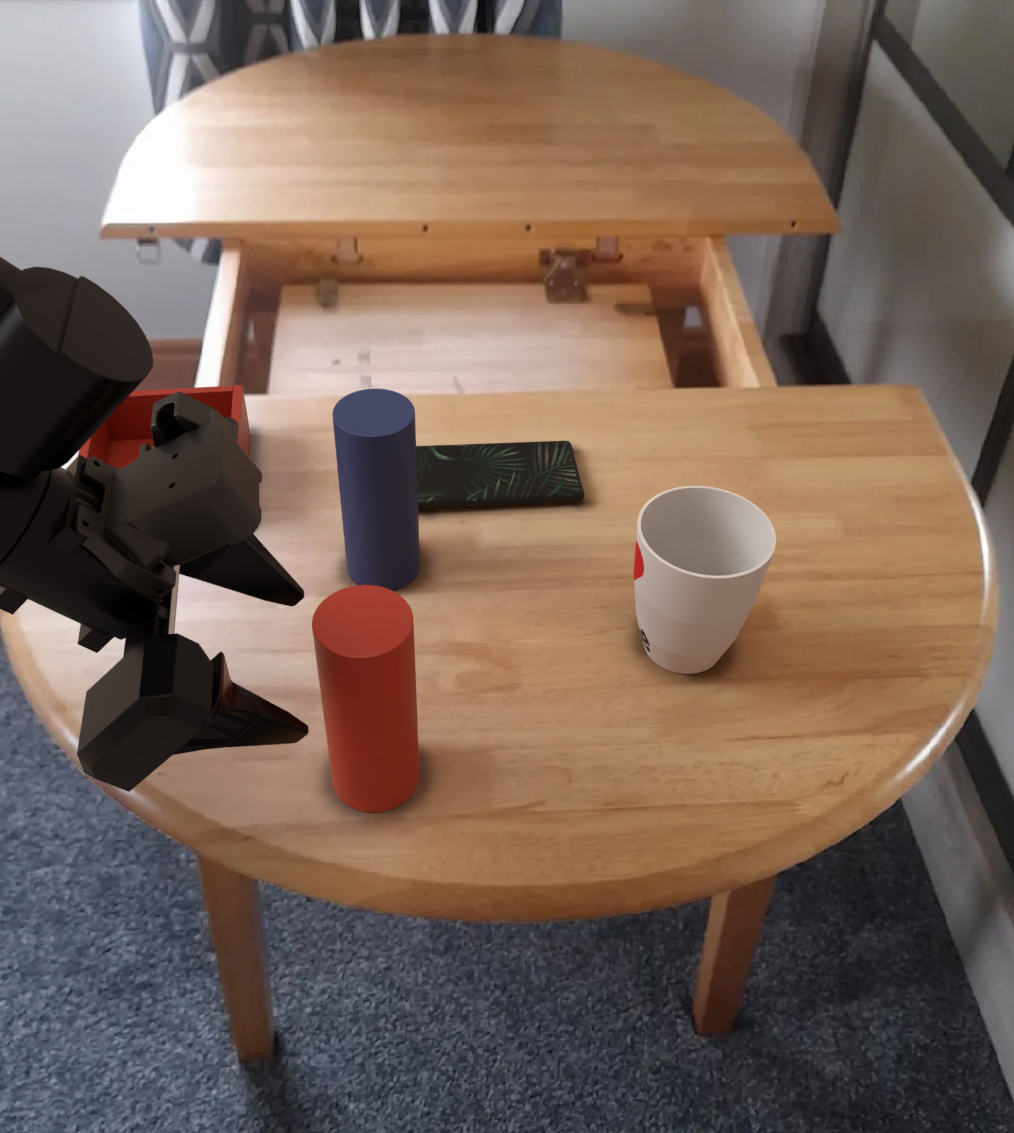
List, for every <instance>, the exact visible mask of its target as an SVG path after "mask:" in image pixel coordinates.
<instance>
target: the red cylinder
mask: <svg viewBox="0 0 1014 1133" xmlns="http://www.w3.org/2000/svg"><path fill="white" fill-rule="evenodd" d="M414 623H415V622H414V613H413V610H412V608H411V605H410V604H409V603H408V601H407V600H406V599H405V598H404V597H403V596H402V595H400V594H399V593H398V592H396V591H395V590H393V591H392V590H390V589H387V588H384V587H380V586H374V585H357V584H356V585H352V586H351V585H350V586H348V587H344V588H341V589H338V590H336V591H334V592H332V593H331V594H329V595H328V596H326V597H325V598H324V599H323V600H322V601H321V602H320V603H319V604H318V606H317V607H316V609H315V611H314V613H313V616H312V619H311V629H312V637H313V638H312V639H313V644H314V652H315V662H316V668H317V675H318V676H317V677H318V682H319V683H318V684H319V691H320V698H321V706H322V714H323V721H324V728H325V729H324V730H325V736H326V743H327V751H328V759H329V767H330V774H331V782H332V787H333V789H334V790H333V791H334V792H335V794H336V795H337V796H338V798H339V799H340V800H341V801H342V802H343V803H344V804H346V805H347V806H348V807H351V808H352V809H355V810H357V811H361V812H366V813H380V812H385V811H390V810H392V809H394V808H395V809H396V808H397V807H399V806H401V805H402V804H403V803H405V802H406V801H407V800H408V799H409V798H410V797H411V796H412V795H413V794H414V793H415V791H416V790H417V787H418V784H419V781H420V775H421V774H420V771H421V770H420V749H419V748H420V747H419V746H420V745H419V725H418V699H417V696H418V695H417V675H416V674H417V670H416V649H415V646H416V645H415V624H414Z"/></svg>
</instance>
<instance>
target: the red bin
mask: <svg viewBox="0 0 1014 1133" xmlns="http://www.w3.org/2000/svg"><path fill="white" fill-rule="evenodd" d="M176 392H182V393H184V394H186V395H188V396H190V397H192V398H194V399H196V400H198V401H200V402H202V403H204V404H206V405H208V406H210V407H211V408H213V409H214V410H217V411H218V412H219V413H220V414H221V416H222V417H223V418H225V417H231V418H233V419H235V420H236V421H237V422H238V424H239V436H238V444H239V445H240V446H241V448H242V449H243V450H244V451H245V453H246V454H247V455H248V456H249V457H250V450H251V430H250V423H249V417H248V410H247V403H246V398H245V391H244V386H243V385H242V384H236V385H217V386H199V387H181V388H180V387H179V388H161V389H159V388H158V389H143V390H134V391H133V392H132V393H131V394H130V395H129V396H128V397H127V398H126V400H125V401H124V402H123V403H122V404H121V405H120V406H119V407H118V408H117V409H116V410H115V412H114V413H113V414H112V415H111V416H110V417H109V418H108V419H107V420H106V421H105V422H104V423H103V425H102V426H101V427H100V428H99V429H98V430H97V431H96V432H95V433H94V434H93V435H92V437H91V438H90V439H89V440H88V441H87V442H86V443H85V444H84V445H83V446H82V447H81V449H80V450H79V451H78V452H77V456H78V455H79V454H80V455H82V456H83V457H85V458H87V459H88V458H89V457H96V458H98V459H100V460H101V461H103V462H105V463H107V464H108V465H111V466H114V467H117V468H120V469H121V468H123V467H125V466H127V465H128V464H130V463H132V462H134V461H135V460H137V459H138V457H139V450H140V446H141V445H143V444H145V443H148V444H149V445H150V446H151V448H152V447H153V446H154V443H153V438H152V432H151V420H152V412H153V405H154V403H155V402H157V401H159V400H161V399H163V398H165V397H167V396H170V395H172V394H174V393H176Z"/></svg>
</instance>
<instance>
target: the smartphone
mask: <svg viewBox="0 0 1014 1133" xmlns="http://www.w3.org/2000/svg"><path fill="white" fill-rule="evenodd" d="M416 457H417V487H418V511H425V510H426V511H429V510H430V509H441V508H443V509H445V508H463V507H464V508H465V507H467V508H468V507H488V506H509V505H510V506H511V505H512V506H513V505H534V504H538V505H539V504H557V503H579V502H582V501H584V499H585V490H584V487H583V483H582V482H583V481H582V479H581V475H580V470H579V467H578V464H577V460H576V455H575V453H574V449H573V445H572V443H571V441H569V440H545V441H544V440H543V441H518V442H517V441H516V442H494V443H493V442H491V443H490V442H488V443H486V442H485V443H464V444H463V443H461V444H436V445H431V444H430V445H416Z"/></svg>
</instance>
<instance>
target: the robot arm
mask: <svg viewBox="0 0 1014 1133" xmlns="http://www.w3.org/2000/svg"><path fill="white" fill-rule="evenodd" d="M153 366H154V357H153V351H152V347H151V345H150V341H149V339H148V337H147V335H146V333H145V332H144V331H143V329H142V327H141V326H140V324H139V323H138V322H137V320H136V319H135V318H134V317H133V315H132V314H131V313H130V312H129V310H127V308H126V307H125V306H124V305H122V303H120V302H119V301H118V300H117V299H116V298H115V297H114V296H113V295H111V293H109V292H108V291H106V290H105V289H104V288H102V287H101V286H100V285H98V284H97V283H95V282H94V281H92V280H91V279H89V278H87V277H86V276H83V275H80V276H79V277H76V276H74V275H71V274H69V273H67V272H65V271H62V270H59V269H55V268H52V267H47V266H46V267H45V266H32V267H27V268H23V269H20V268H19V267H18V266H16V265H14V264H13V263H11V262H9V261H8V260H6V258H3V257H2V256H0V610H1V611H3V612H5V613H8V614H10V615H14V614H15V613H16V612H17V611H18V610H19V609H20V608H21V607H22V606H23V605H24V604H25V603H26V602H27V601H28V600H29V601H31V602H33V603H35V604H37V605H39V606H42V607H43V608H46V609H48V610H50V611H52V612H54V613H56V614H59V615H61V616H63V617H65V618H67V619H70V620H72V621H74V622H76V623H78V624H80V626H79V632H78V637H77V643H76V644H77V645H78V646H81V647H82V648H85V649H87V650H90V651H91V652H94V653H95V654H98V653H99V652H100V651H101V650H102V649H103V648H104V647H106V646H107V645H108V644H109V643H110V642H111V641H112V640H113V639H114V638H116V639H117V640H120V641H122V640H124V647H123V655H122V658H121V659H120V660H119V661H117V662H116V663H115V664H114V665H113V666H112V667H111V668H110V669H109V670H108V671H106V673H105V674H103V675H102V676H101V677H100V678H99V679H98V680H97V681H96V682H95V683H94V684H93V685H92V686H91V687H89V688H88V689H87V690H86V692H85V698H84V704H83V711H82V716H81V723H80V731H79V737H78V743H77V750H76V756H77V758H78V761H79V764H80V765H81V768H82V771H83V773H84V774H85V775H87V776H89V777H91V778H93V780H97V781H100V782H102V783H105V784H107V785H110V786H113V787H116V788H117V789H120V790H123V791H126V792H128V793H130V792H131V791H133V789H135V788H136V787H137V786H139V784H140V783H142V782H143V781H144V780H146V779H147V777H149V776H150V775H151V774H152V773H153V772H155V771H156V770H157V769H158V768H160V767H161V766H162V765H163V764H165V763H166V762H167V761H168V760H169V759H170V758H171V757H173V756H176V755H182V754H188V753H193V752H199V751H205V750H214V749H215V750H217V749H225V748H226V749H227V748H228V749H229V748H242V747H244V748H245V747H258V746H259V747H260V746H274V745H291V744H297V743H299V742H300V741H302V740H303V739H305V737H307V736H308V735H309V732H310V729H309V726H308V724H307V723H305V722H303V721H302V720H301V719H299V718H298V717H297V716H295V715H294V714H292V713H291V712H289V711H287V710H285V709H284V708H282V707H279V706H278V705H276V704H275V703H272V702H271V701H269V700H267V699H265V698H263V697H262V696H261V695H258V694H256V693H255V692H253V691H250V690H249V689H247V688H246V687H243V686H241V685H240V684H238V683H236V682H234V681H233V680H232V679H231V676H230V671H229V668H228V664H227V660H226V656H225V653H224V652H223V651H219V652H218V653H217V654H216V655H214V656H213V657H212V658H211V659H210V657H209V656H208V655H207V653H206V652H205V650H204V649H203V648H202V646H201V645H200V643H199V642H196V641H194V640H193V639H191V638H188V637H186V636H184V635H182V634H180V633H178V632H177V633H176V632H175V631H176V630H175V628H176V619H177V618H176V617H177V607H178V606H177V605H178V596H179V595H178V593H179V584H180V583H179V581H180V575H181V576H185V577H188V578H191V579H195V580H197V581H200V582H204V583H207V584H211V585H214V586H217V587H220V588H223V589H227V590H230V591H233V592H236V593H239V594H243V595H245V596H249V597H251V598H254V599H257V600H261V601H265V602H269V603H272V604H276V605H277V604H278V605H282V606H287V607H295V606H296V605H298V604H299V603H300V602H301V601H302V600H304V598H305V590H304V589H303V587H302V586H301V585H300V584H299V583H298V581H296V579H294V577H292V575H291V574H290V573H289V572H288V570H286V568H285V567H284V566H283V565H282V564H281V563H280V561H278V559H277V558H276V557H275V556H274V555H273V554H272V553H271V552H270V550H268V548H266V546H265V545H264V544H263V543H262V542H261V540H259V538H258V537H257V536H256V534H254V533H256V531H257V530H258V528H259V527H260V524H261V522H262V516H263V515H262V513H263V512H262V508H261V504H260V484H261V483H262V481H263V473H262V471H261V470H260V469H259V467H258V466H257V464H255V463H254V461H253V460H252V459H251V457H250V455H249V456H248V455H247V454H246V453H245V451H244V450H243V449H242V448H241V446H240V445H239V444H238V436H239V424H238V422H237V421H236V420H235V419H233V418H231V417H225V418H223V417H222V416H221V414H220V413H219V412H218V411H217V410H214V409H213V408H211V407H210V406H208V405H206V404H204V403H202V402H200V401H198V400H196V399H194V398H192V397H190V396H188V395H186V394H184V393H182V392H176V393H174V394H172V395H170V396H167V397H165V398H163V399H161V400H159V401H157V402H155V403H154V405H153V412H152V420H151V432H152V438H153V443H154V446H153V447H152V448H151V446H150V445H149V444H148V443H145V444H143V445H141V446H140V450H139V457H138V459H137V460H135V461H134V462H132V463H130V464H128V465H127V466H125V467H123V468H121V469H120V468H117V467H114V466H111V465H108V464H107V463H105V462H103V461H101V460H100V459H98V458H96V457H89V458H88V459H87V458H85V457H83V456H82V455H80V454H79V455H78V453H79V450H80V449H81V447H82V446H83V445H84V444H85V443H86V442H87V441H88V440H89V439H90V438H91V437H92V435H93V434H94V433H95V432H96V431H97V430H98V429H99V428H100V427H101V426H102V425H103V423H104V422H105V421H106V420H107V419H108V418H109V417H110V416H111V415H112V414H113V413H114V412H115V410H116V409H117V408H118V407H119V406H120V405H121V404H122V403H123V402H124V401H125V400H126V398H127V397H128V396H129V395H130V394H131V393H132V392H133V391H136V389H137V388H138V387H139V386H140V385H141V383H143V381H144V380H145V379H146V378H147V377H148V375H149V374H150V373H151V371H152V369H153ZM76 454H77V456H76V457H75V458H74V456H75V455H76ZM73 458H74V460H72V462H70V461H71V459H73ZM69 462H70V463H69ZM68 463H69V465H68V466H67V467H66V468H64V467H63V466H65V465H67V464H68Z"/></svg>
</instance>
